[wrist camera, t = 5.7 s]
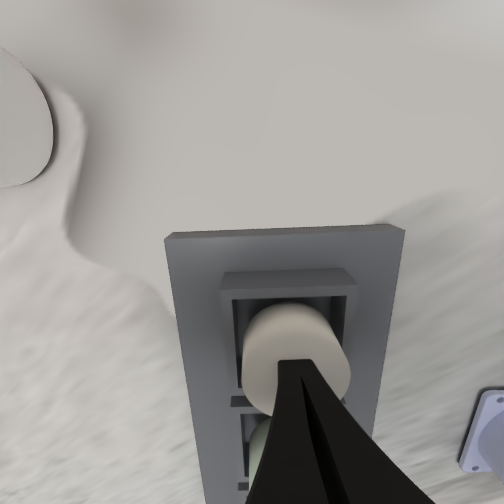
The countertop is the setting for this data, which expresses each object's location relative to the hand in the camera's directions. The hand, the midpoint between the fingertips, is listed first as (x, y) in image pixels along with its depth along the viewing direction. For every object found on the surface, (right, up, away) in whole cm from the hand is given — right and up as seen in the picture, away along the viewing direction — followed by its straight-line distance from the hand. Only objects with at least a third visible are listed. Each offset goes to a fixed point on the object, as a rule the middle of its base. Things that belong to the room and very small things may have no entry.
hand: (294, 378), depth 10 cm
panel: (0, -5, +7) cm, 9 cm away
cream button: (0, +1, +2) cm, 2 cm away
